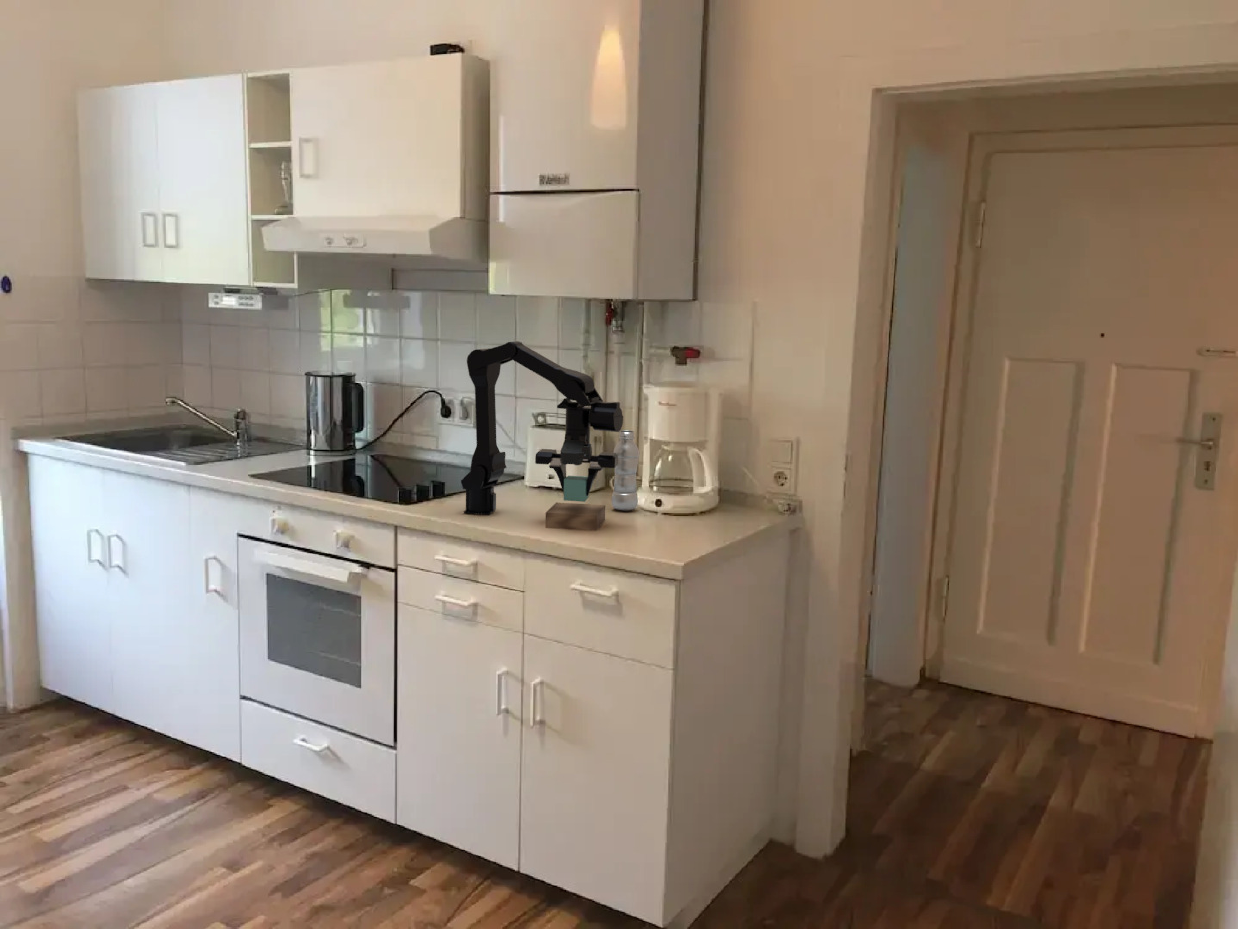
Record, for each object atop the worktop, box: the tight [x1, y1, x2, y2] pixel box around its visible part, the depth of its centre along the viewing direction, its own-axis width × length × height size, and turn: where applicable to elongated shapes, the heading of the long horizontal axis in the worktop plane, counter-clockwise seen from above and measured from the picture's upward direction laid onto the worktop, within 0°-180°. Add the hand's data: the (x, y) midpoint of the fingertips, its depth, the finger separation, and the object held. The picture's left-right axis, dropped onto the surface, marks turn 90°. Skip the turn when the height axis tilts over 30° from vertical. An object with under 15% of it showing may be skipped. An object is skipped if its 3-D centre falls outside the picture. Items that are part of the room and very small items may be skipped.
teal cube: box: [563, 475, 590, 503], centre depth 245 cm, size 5×5×5 cm
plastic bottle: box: [611, 429, 640, 512], centre depth 261 cm, size 6×7×20 cm
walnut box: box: [545, 502, 606, 532], centre depth 246 cm, size 12×12×4 cm
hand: (576, 494), depth 245 cm, fingers closed on teal cube, 5 cm apart
